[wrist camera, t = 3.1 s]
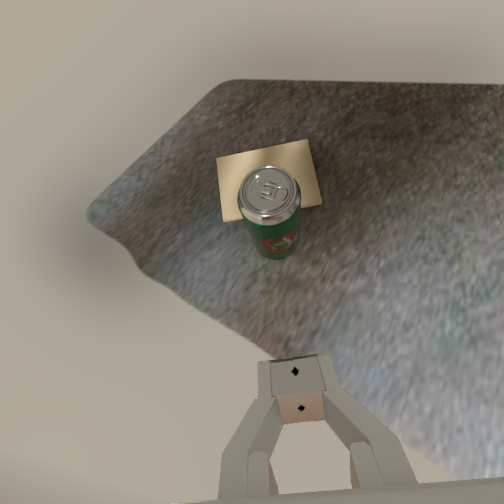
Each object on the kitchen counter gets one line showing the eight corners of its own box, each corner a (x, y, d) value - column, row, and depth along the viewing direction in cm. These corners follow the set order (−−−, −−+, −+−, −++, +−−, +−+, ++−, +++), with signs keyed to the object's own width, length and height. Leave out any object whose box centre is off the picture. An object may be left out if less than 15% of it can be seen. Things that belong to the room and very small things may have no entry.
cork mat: (307, 142, 34) (307, 138, 34) (321, 204, 32) (322, 202, 31) (217, 160, 35) (216, 157, 35) (224, 222, 33) (222, 220, 32)
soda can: (263, 215, 32) (247, 154, 21) (303, 227, 31) (310, 168, 20) (249, 253, 31) (224, 210, 20) (290, 266, 30) (289, 229, 19)
